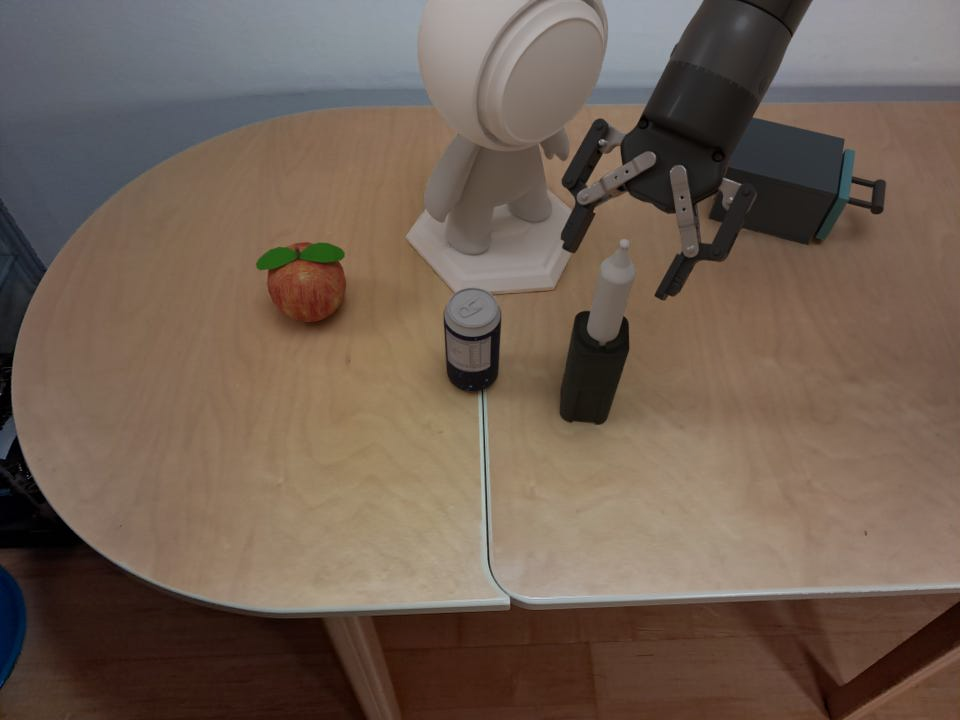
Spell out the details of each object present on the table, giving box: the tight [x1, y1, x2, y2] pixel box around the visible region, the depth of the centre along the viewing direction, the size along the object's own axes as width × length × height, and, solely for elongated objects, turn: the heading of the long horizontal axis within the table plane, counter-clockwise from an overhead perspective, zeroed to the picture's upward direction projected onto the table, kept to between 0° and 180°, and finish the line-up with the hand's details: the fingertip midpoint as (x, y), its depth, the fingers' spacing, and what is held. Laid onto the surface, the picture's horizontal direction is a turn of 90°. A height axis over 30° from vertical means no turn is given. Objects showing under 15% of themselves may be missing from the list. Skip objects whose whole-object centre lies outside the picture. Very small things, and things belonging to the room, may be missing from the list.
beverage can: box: [442, 287, 502, 393], centre depth 72 cm, size 6×6×12 cm
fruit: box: [255, 241, 347, 323], centre depth 78 cm, size 9×10×10 cm
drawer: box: [815, 148, 887, 241], centre depth 88 cm, size 16×9×7 cm, turn 69°
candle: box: [559, 238, 637, 426], centre depth 65 cm, size 5×5×25 cm
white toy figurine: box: [405, 0, 609, 296], centre depth 75 cm, size 20×23×35 cm
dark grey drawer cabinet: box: [708, 116, 846, 246], centre depth 89 cm, size 13×11×9 cm
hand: (612, 274), depth 57 cm, fingers open, 8 cm apart
